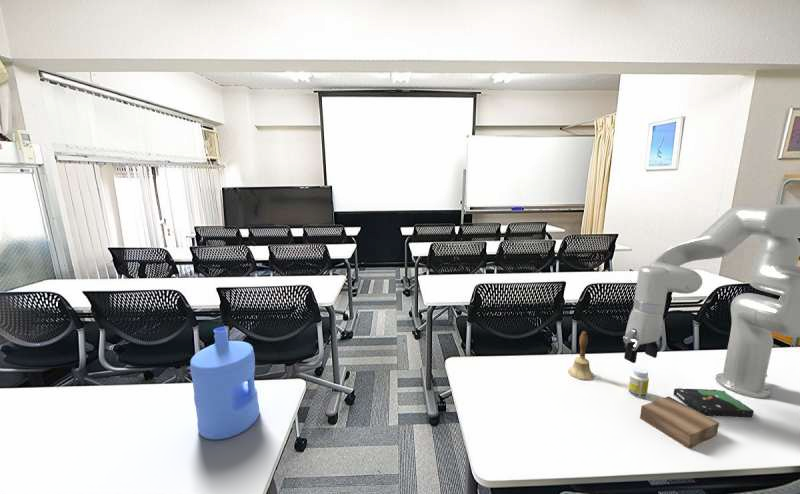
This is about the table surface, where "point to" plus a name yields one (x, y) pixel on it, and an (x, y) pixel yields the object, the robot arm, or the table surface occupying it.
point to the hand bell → (581, 362)
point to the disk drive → (713, 403)
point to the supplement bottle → (639, 382)
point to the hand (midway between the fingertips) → (640, 358)
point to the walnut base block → (679, 421)
